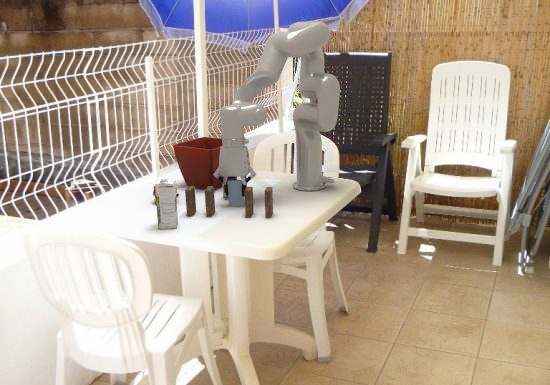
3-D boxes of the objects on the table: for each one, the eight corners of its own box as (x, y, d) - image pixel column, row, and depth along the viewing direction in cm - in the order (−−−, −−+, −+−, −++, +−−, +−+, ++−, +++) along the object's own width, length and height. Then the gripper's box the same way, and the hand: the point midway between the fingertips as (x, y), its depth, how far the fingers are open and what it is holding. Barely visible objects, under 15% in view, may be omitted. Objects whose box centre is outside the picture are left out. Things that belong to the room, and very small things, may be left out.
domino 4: (253, 212, 194) (252, 186, 192) (250, 217, 189) (249, 190, 187) (248, 212, 194) (247, 186, 192) (245, 217, 190) (244, 190, 187)
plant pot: (244, 182, 232) (242, 140, 228) (214, 194, 217) (211, 149, 212) (206, 176, 242) (203, 136, 237) (174, 188, 227) (171, 145, 222)
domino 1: (196, 211, 197) (194, 186, 195) (192, 216, 192) (190, 190, 190) (191, 211, 197) (189, 185, 195) (186, 216, 193) (184, 190, 190)
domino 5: (273, 213, 193) (272, 186, 191) (270, 218, 189) (270, 191, 186) (267, 213, 194) (266, 186, 191) (265, 218, 189) (264, 191, 186)
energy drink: (235, 200, 209) (234, 167, 205) (221, 199, 210) (219, 167, 206) (239, 196, 214) (238, 163, 210) (225, 195, 215) (223, 163, 211)
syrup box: (160, 223, 187) (156, 179, 182) (178, 222, 187) (175, 178, 183) (158, 229, 181) (154, 184, 177) (177, 228, 181) (173, 183, 177)
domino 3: (229, 204, 204) (228, 179, 201) (244, 205, 203) (242, 179, 200) (228, 206, 202) (227, 181, 199) (243, 206, 201) (241, 181, 199)
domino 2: (215, 212, 196) (213, 186, 194) (211, 217, 191) (210, 190, 189) (210, 212, 196) (208, 186, 194) (206, 216, 192) (204, 190, 189)
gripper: (260, 140, 199) (262, 192, 204) (211, 140, 201) (214, 191, 206) (256, 145, 192) (258, 198, 197) (205, 145, 194) (208, 198, 199)
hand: (235, 194), depth 201 cm, fingers closed on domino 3, 4 cm apart
